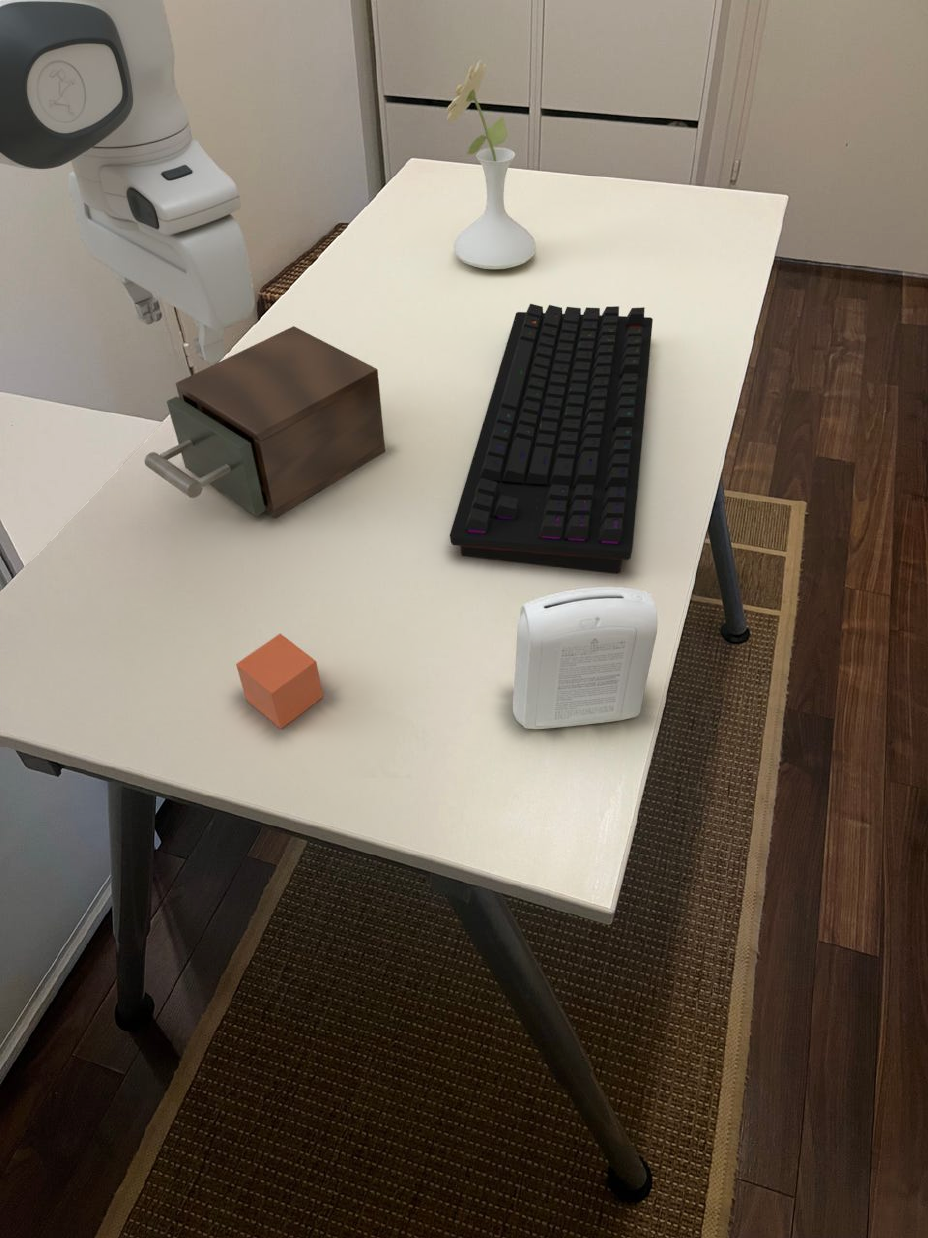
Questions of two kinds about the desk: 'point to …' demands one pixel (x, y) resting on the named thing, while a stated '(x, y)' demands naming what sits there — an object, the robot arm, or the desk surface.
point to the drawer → (211, 457)
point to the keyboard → (560, 443)
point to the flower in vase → (490, 193)
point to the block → (280, 680)
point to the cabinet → (295, 412)
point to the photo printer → (583, 657)
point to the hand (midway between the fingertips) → (180, 338)
